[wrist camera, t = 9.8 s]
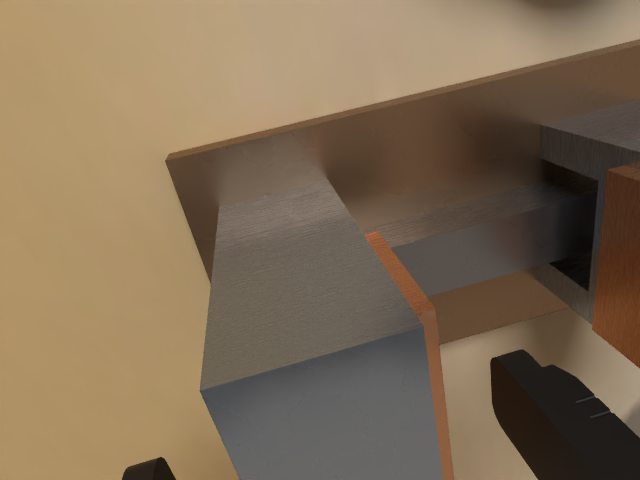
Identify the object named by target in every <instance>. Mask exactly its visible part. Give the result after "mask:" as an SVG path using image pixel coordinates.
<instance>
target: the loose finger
mask: <svg viewBox="0 0 640 480" xmlns="http://www.w3.org/2000/svg"><path fill="white" fill-rule="evenodd" d="M200 393H201V395H202V397H203V399H204V401H205V404H206V406H207V408H208V410H209V412H210V415H211V417H212V419H213V421H214V423H215V426H216V428H217V430H218V432H219V434H220V437H221V439H222V441H223V443H224V445H225V448H226V450H227V452H228V454H229V457H230V459H231V461H232V463H233V465H234V468H235V470H236V472H237V474H238V476H239V479H240V480H454V476H453V467H452V457H451V448H450V439H449V430H448V421H447V412H446V403H445V393H444V384H443V375H442V366H441V357H440V348H439V339H438V330H437V320H436V311H435V308H434V306H433V305H432V304H431V302H430V301H429V300H428V298H427V297H426V296H425V294H424V293H423V291H422V290H421V289H420V287H419V286H418V285H417V283H416V282H415V281H414V279H413V278H412V277H411V275H410V274H409V273H408V271H407V270H406V268H405V267H404V266H403V264H402V263H401V262H400V260H399V259H398V258H397V256H396V255H395V254H394V252H393V251H392V250H391V248H390V247H389V245H388V244H387V243H386V241H385V240H384V239H383V237H382V236H381V235H380V233H379V232H378V231H376V232H372V233H368V234H363V233H362V231H361V230H360V228H359V227H358V225H357V224H356V222H355V221H354V219H353V218H352V216H351V214H350V213H349V211H348V210H347V208H346V207H345V205H344V204H343V202H342V201H341V199H340V198H339V196H338V195H337V193H336V191H335V190H334V188H333V187H332V185H331V184H330V182H329V181H328V179H327V180H324V181H320V182H316V183H312V184H308V185H304V186H300V187H297V188H293V189H289V190H285V191H281V192H277V193H273V194H270V195H266V196H262V197H258V198H254V199H250V200H247V201H243V202H239V203H235V204H231V205H227V206H223V207H220V208H219V214H218V223H217V232H216V242H215V251H214V261H213V270H212V279H211V289H210V298H209V308H208V317H207V326H206V336H205V345H204V355H203V364H202V373H201V383H200Z"/></svg>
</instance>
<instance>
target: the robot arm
mask: <svg viewBox="0 0 640 480" xmlns="http://www.w3.org/2000/svg"><path fill="white" fill-rule="evenodd" d="M490 366H491V389H492V405H493V409H494V412H495V415H496V418H497V420H498V422H499V424H500V426H501V427H502V429H503V430H504V432H505V433H506V435H507V436H508V437H509V439H510V440H511V442H512V443H513V445H514V446H515V447H516V449H517V450H518V452H519V453H520V454H521V456H522V457H523V459H524V460H525V462H526V463H527V464H528V466H529V467H530V469H531V470H532V471H533V473H534V474H535V476H536V477H537V479H538V480H640V438H639V437H638V436H637V435H636V434H635V433H634V432H633V431H632V430H631V429H630V428H628V426H627V425H626V424H624V423H623V422H622V421H621V420H620V419H619V418H618V417H617V416H616V415H615V414H614V413H611V412H610V409H609V408H608V407H607V406H606V405H605V404H604V403H603V402H602V401H601V400H600V399H598V398H596V397H595V396H594V394H593V393H592V392H591V391H590V390H589V389H588V388H587V387H586V386H585V385H584V384H583V383H582V382H581V381H580V380H579V379H578V378H577V377H575V376H573V375H571V374H570V373H568V372H566V371H564V370H562V369H560V368H558V367H556V366H554V365H553V364H552V365H549V366H546V367H543V368H542V367H541V366H540V365H539V364H538V363H537V362H536V361H535V360H534V358H533V357H532V356H531V355H530V354H529V353H528V352H526V351H525V350H518V351H514V352H511V353H508V354H504V355H501V356H498V357H494V358H492V359H491V363H490ZM122 480H176V479H175V477H174V475H173V473H172V471H171V469H170V468H169V466H168V464H167V462H166V461H165V459H164V458H162V457H159V458H156V459H153V460H150V461H146V462H143V463H140V464H136V465H133V466H130V467H128V468H127V469H126V470H125V472H124V474H123V478H122Z"/></svg>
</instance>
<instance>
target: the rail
mask: <svg viewBox="0 0 640 480" xmlns="http://www.w3.org/2000/svg"><path fill="white" fill-rule="evenodd" d="M165 162H166V165H167V167H168V170H169V173H170V175H171V178H172V181H173V183H174V186H175V189H176V191H177V194H178V197H179V199H180V202H181V205H182V208H183V210H184V213H185V216H186V218H187V221H188V224H189V226H190V229H191V232H192V234H193V237H194V240H195V242H196V245H197V248H198V250H199V253H200V256H201V258H202V261H203V264H204V267H205V269H206V272H207V275H208V277H209V280H210V283H211V279H212V270H213V261H214V251H215V242H216V232H217V223H218V214H219V208H220V207H223V206H227V205H231V204H235V203H239V202H243V201H247V200H250V199H254V198H258V197H262V196H266V195H270V194H273V193H277V192H281V191H285V190H289V189H293V188H297V187H300V186H304V185H308V184H312V183H316V182H320V181H324V180H327V179H328V181H329V182H330V184H331V185H332V187H333V188H334V190H335V191H336V193H337V195H338V196H339V198H340V199H341V201H342V202H343V204H344V205H345V207H346V208H347V210H348V211H349V213H350V214H351V216H352V218H353V219H354V221H355V222H356V224H357V225H358V227H359V228H360V230H361V231H362V233H363V234H368V233H372V232H376V231H378V232H379V233H380V235H381V236H382V237H383V239H384V240H385V241H386V243H387V244H388V245H389V247H390V248H391V250H392V251H393V252H394V254H395V255H396V256H397V258H398V259H399V260H400V262H401V263H402V264H403V266H404V267H405V268H406V270H407V271H408V273H409V274H410V275H411V277H412V278H413V279H414V281H415V282H416V283H417V285H418V286H419V287H420V289H421V290H422V291H423V293H424V294H425V296H426V297H427V298H428V300H429V301H430V302H431V304H432V305H433V306H434V308H435V311H436V320H437V330H438V339H439V345H440V344H444V343H447V342H451V341H454V340H458V339H461V338H465V337H468V336H472V335H475V334H479V333H482V332H486V331H489V330H493V329H496V328H500V327H503V326H507V325H510V324H514V323H517V322H521V321H524V320H528V319H531V318H535V317H538V316H542V315H545V314H549V313H552V312H556V311H559V310H563V309H566V308H570V307H571V308H572V309H573V310H574V311H576V312H577V313H578V314H579V315H581V316H582V317H583V318H584V319H586V320H587V321H588V322H589V323H591V324H592V330H593V331H594V332H596V333H597V334H598V335H599V336H601V337H602V338H603V339H604V340H605V341H607V342H608V343H609V344H610V345H612V346H613V347H614V348H615V349H616V350H618V351H619V352H620V353H621V354H623V355H624V356H625V357H626V358H628V359H629V360H630V361H631V362H632V363H634V364H635V365H636V366H637V367H639V368H640V40H635V41H631V42H627V43H623V44H619V45H615V46H611V47H607V48H603V49H598V50H594V51H590V52H586V53H582V54H578V55H574V56H570V57H566V58H561V59H557V60H553V61H549V62H545V63H541V64H537V65H533V66H529V67H524V68H520V69H516V70H512V71H508V72H504V73H500V74H496V75H492V76H487V77H483V78H479V79H475V80H471V81H467V82H463V83H459V84H455V85H450V86H446V87H442V88H438V89H434V90H430V91H426V92H422V93H418V94H413V95H409V96H405V97H401V98H397V99H393V100H389V101H385V102H381V103H376V104H372V105H368V106H364V107H360V108H356V109H352V110H348V111H344V112H339V113H335V114H331V115H327V116H323V117H319V118H315V119H311V120H307V121H302V122H298V123H294V124H290V125H286V126H282V127H278V128H274V129H270V130H265V131H261V132H257V133H253V134H249V135H245V136H241V137H237V138H233V139H229V140H224V141H220V142H216V143H212V144H208V145H204V146H200V147H196V148H192V149H187V150H183V151H179V152H175V153H171V154H169V155H168V157H167V159H166V160H165Z"/></svg>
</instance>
